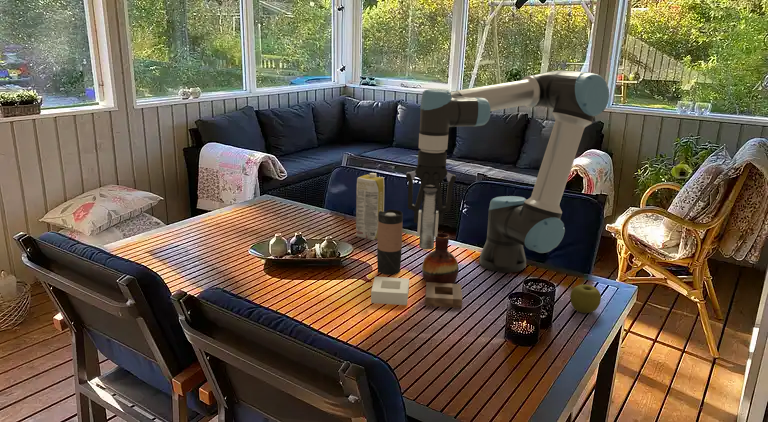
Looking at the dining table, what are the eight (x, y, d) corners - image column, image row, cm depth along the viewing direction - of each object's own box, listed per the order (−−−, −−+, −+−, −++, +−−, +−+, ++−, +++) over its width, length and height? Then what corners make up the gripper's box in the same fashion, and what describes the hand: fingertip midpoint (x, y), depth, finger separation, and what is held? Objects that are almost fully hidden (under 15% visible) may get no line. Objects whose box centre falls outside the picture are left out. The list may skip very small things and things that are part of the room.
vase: (433, 293, 165) (436, 244, 160) (414, 279, 174) (416, 232, 170) (464, 286, 170) (468, 238, 165) (444, 273, 179) (447, 227, 174)
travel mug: (398, 279, 174) (400, 217, 168) (374, 276, 175) (375, 215, 169) (402, 269, 181) (404, 210, 175) (379, 267, 182) (380, 208, 176)
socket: (408, 292, 165) (409, 278, 163) (406, 308, 155) (407, 293, 154) (374, 290, 165) (375, 276, 164) (370, 306, 156) (371, 291, 154)
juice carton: (385, 236, 211) (387, 173, 204) (374, 241, 205) (375, 177, 198) (365, 231, 216) (366, 170, 209) (353, 236, 209) (353, 174, 202)
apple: (595, 320, 151) (599, 296, 149) (565, 312, 155) (568, 288, 153) (601, 309, 157) (605, 286, 155) (572, 302, 161) (575, 279, 159)
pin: (435, 244, 157) (439, 184, 152) (435, 250, 152) (439, 189, 147) (417, 243, 157) (421, 183, 152) (417, 249, 152) (421, 188, 147)
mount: (460, 295, 164) (460, 284, 163) (461, 311, 154) (462, 299, 153) (425, 293, 165) (426, 282, 164) (425, 308, 155) (425, 297, 154)
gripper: (464, 149, 150) (457, 232, 157) (400, 145, 151) (396, 228, 157) (466, 154, 143) (459, 241, 149) (399, 151, 144) (395, 237, 150)
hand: (427, 234), depth 153 cm, fingers closed on pin, 4 cm apart
